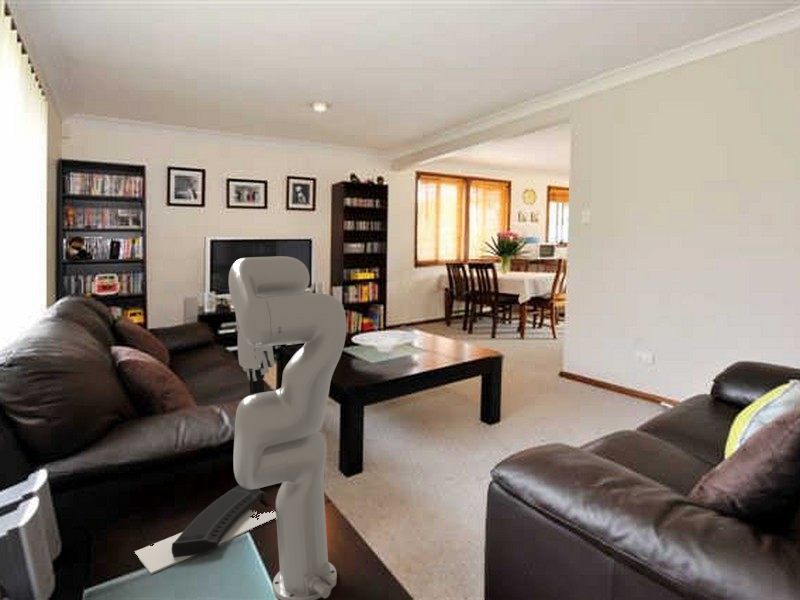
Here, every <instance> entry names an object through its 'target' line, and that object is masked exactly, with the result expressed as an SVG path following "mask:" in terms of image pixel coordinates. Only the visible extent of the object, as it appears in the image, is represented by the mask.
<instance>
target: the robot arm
mask: <svg viewBox="0 0 800 600" xmlns="http://www.w3.org/2000/svg"><path fill="white" fill-rule="evenodd" d="M310 279H311V278H310V273H309V269H308V268H307V266H306V265H305V264H304V263H303V261H301V260H299V259H298V258H295V257H292V256H285V255H284V256H282V255H280V256H278V255H276V256H275V255H274V256H253V257H252V256H251V257H250V256H249V257H242V258H239V259H237V260H236V261H234V262H233V264H232V265H231V267H230V270H229V273H228V291H229V294H230V298H231V301H232V306H233V309H234V313H235V322H236V332H237V356H238V357H237V358H238V364H239V365H238V366H240V367H241V368H242V370H243V371H244V372H246V375H247V380H248V383H249V385H248V386H249V395H246V397H244V398H243V399H241V401H240V402H239V403H238V405H237V407H236V408H237V409H236V412H235V421H234V437H233V438H234V439H233V441H234V442H233V455H232V456H233V459H232V460H233V462H232V463H233V473H234V474H233V475H234V478H235V480H236V482H237V484H238V485H240V486H241V487H242V488H244V489H257V488H259V489H261V488H264V487H270V486H273V485H276V484H281V485H280V487H279V489H278V491H277V495H276V497H275V512H276V519H275V520H276V532H277V536H276V537H277V547H278V561H279V564H278V565H279V571H278V572H276V575H275V576H274V578H273V581H272V591H273V594H274V595H275V597H276V598H277V599H279V600H319V599H321V598H323V599H327V598H328V597H329V596H330V595H331V593H332V590H333V588H334V587H335V586H336V585H337V581H338V580H337V578H338V576H337V575H338V574H337V569H336V567H335V565H333V564H332V563H331V562H329V555H328V537H327V523H326V522H327V521H326V508H325V506H326V504H325V468H326V467H325V466H326V459H327V458H326V457H327V442H326V440H325V436H324V435H323V433H322V432H321V431H320V430H321V428H322V426H323V423H324V422H325V417H326V411H327V406H328V400H329V399H328V398H329V395H330V386H331V381H332V378H333V375H334V372H335V369H336V368H337V365H338V363H339V361H340V359H341V356H342V353H343V349H344V347H345V342H346V337H347V318H346V313H345V309H344V306H343V304H342V302H341V301H340V300H339V299H338V298H336V297H335V296H333V295H330V294H326V293H319V292H317V293H316V292H310V293H309V292H307V293H305V291H306V290H307V289H308V286H309V285H310ZM298 343H304V345H302V347H300V348H299V349H298V350H297V351H296V352H295V353H294V354H293V356H292V357H291V358H290V360H289V361H288V363H287V364H286V365H285V367H284V369H283V371H282V377H281V378H282V380H281V387H280V388H278V389H277V388H276V389H274V390H270V391H265V381H264V380H265V376H266V375H267V374H268V375H269V374H270V370H269V368H272V367H274V366H275V358H274V351H273V350H274V349H273V347H274V346H281V345H289V344H298Z"/></svg>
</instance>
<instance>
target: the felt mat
mask: <svg viewBox="0 0 800 600" xmlns="http://www.w3.org/2000/svg"><path fill="white" fill-rule="evenodd" d="M273 511H274V512H273ZM273 511H271V512H270V513H269V512H267V513H265V512H264V513H263V514H261V513H260V514H258V515H260V516H259V517H257V518H259V519H258V520H257V518H255V517H256V516H255V515H256V514H257V511H256V512H255V510H254V511H253V512H252V510H250V509H248V510H247V511H246V512H245V513H244V514H243V515H242V516H241V517H239V518H238V519H237V521H236V522H235V523H234V524H233V525H232V526H231V527H230V529H229V530H228V531H227V532H226V533H225V535H224V536H223V537H222V539H221V540H220V542H219V544H218V546H219V545H221V544H223V543H225V542H227V541H230V540H233V539H234V538H236V537H239V536H241V535H243V534H246V533H248V532H250V531H252V530H254V529H253V528H255V527H257V526H259V525H261V526H263V525H262V524H264V523H266V522H268V523H270V522H271V521H270V520H273V519H275V518H276V510H273ZM272 512H273V513H272ZM253 514H255V515H253ZM252 515H253V516H255V517H254V518H252V517H250V516H252ZM258 515H257V516H258ZM275 520H276V519H275ZM269 521H270V522H269ZM273 521H274V520H273ZM266 524H267V523H266ZM264 525H265V524H264ZM259 527H260V526H259ZM257 528H258V527H257ZM255 529H256V528H255ZM249 530H250V531H249ZM247 531H248V532H247ZM245 532H246V533H245ZM182 533H183V531H182V532H179V533H176V534H175V535H173V536H169V537H167V538H165V539H161V540H159V541H157V542H155V543H153V544H154V545H153V546H150V545H151V544H150V545H147V546H145V547H143V548H140V549H137V550H134V552H135V553H134V555H135V554H136V555H137V556H138V557H137V556H136V555H135V556H136V557H137V558H139V559H138V560H139V562H140V563H141V564H142V565H143V566H144V567H145V568H146V570H147V571H148V573H149V574H150V575H153V574H156V573H157V572H160V571H163V570H164V569H166V568H169V567H171V566H173V565H176V564H178V563H180V562H182V561H185V560H186V559H187V560H188V559H189V558H191V557H194V556H195V555H191V556H183V557H175V558H174V557H173V554H172V543H173V542H175V541H176V540H177V539H178V537H179V536H180V535H181V534H182Z"/></svg>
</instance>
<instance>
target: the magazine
mask: <svg viewBox="0 0 800 600" xmlns="http://www.w3.org/2000/svg"><path fill="white" fill-rule="evenodd" d="M264 499H266V493H265V492H264V491H263V490H260V488H257V489H244V488H242V487H241V486H240V485H239V484H238V485H236V486H234V487H233V488H232V489H230V490H228V491H227V492H225V493H224V494H223V495H221V496H219V498H217V499H216V500H214V501H213V502H212V503H211V504H209V505H208V506H207V507H206V508H204V509H203V511H201V512H200V513H199V514H198V515H197V516H196V517H195V518H194V519H193V520H192V521H191V522H190V523H189V524H188V526H186V528H185V529H184V530H183V531H182V532H183V533H182V532H181V533H182V534H181V535H180V536H179V537H178V539H177V540H176V541H175V542H173V543H172V554H173V557H174V558H175V557H183V556H191V555H194V556H199V555H207V554H208V553H209V552H211V551H215V550H217V549H218V547H219V545H220V544H219V542H220V540H221V539H222V537H223V536H224V535H225V533H226V532H227V531H228V530H229V529H230V527H231V526H232V525H233V524H234V523H235V522H236V521H237V519H238V518H239V517H241V516H242V515H243V514H244V513H245V512H246V511H247V510H248V509H249V508H251V507H252V506H253V505H254V504H256V503H258V502H261V500H262V501H263V500H264ZM218 544H219V545H218Z"/></svg>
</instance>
